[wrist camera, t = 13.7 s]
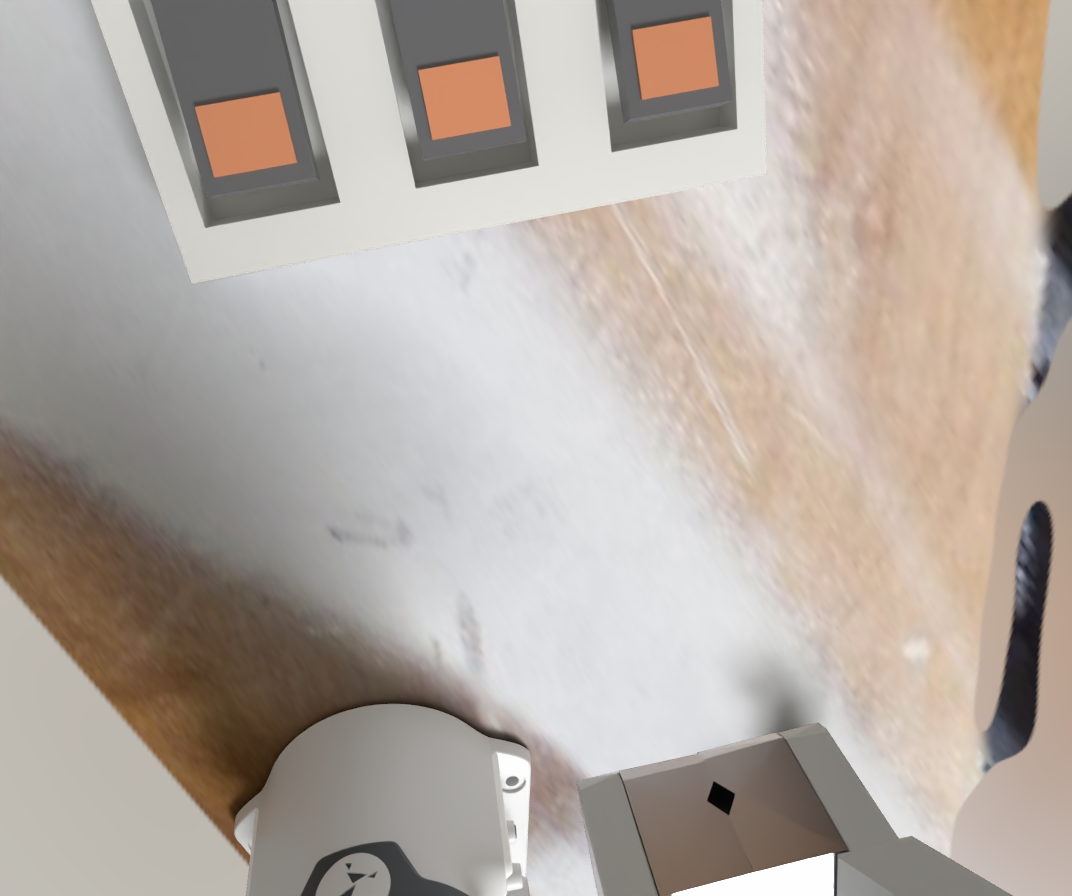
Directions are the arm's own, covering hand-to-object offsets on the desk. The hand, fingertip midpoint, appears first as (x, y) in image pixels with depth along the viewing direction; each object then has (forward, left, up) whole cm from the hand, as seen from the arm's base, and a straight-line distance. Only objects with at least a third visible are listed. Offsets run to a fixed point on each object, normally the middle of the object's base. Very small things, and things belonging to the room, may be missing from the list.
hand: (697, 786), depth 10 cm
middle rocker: (+11, 0, -27) cm, 29 cm away
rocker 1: (+11, +8, -27) cm, 30 cm away
